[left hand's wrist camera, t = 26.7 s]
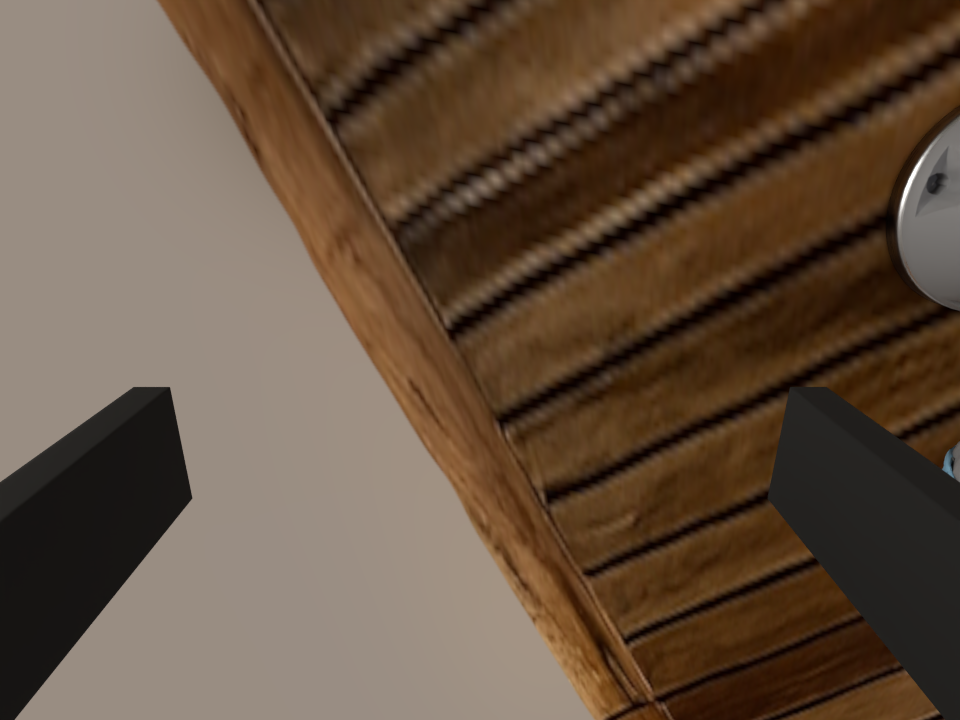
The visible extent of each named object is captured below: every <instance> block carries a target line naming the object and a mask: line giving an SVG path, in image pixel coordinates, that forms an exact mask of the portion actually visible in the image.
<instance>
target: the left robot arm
mask: <svg viewBox="0 0 960 720" xmlns="http://www.w3.org/2000/svg"><path fill="white" fill-rule="evenodd" d="M886 237H887V245H888V250H889V254H890V257H891V260H892V262H893V264H894V266H895V269H896V270H897V272H898V274H899V275H900V277H901V278H902V279H903V280H904V282H905V283H906V284H907V285H908V286H909V287H910V288H911V289H912V290H913V291H915V292H916V293H918V294H919V295H920V296H922V297H924V298H926V299H928V300H930V301H932V302H935V303H937V304H940V305H943V306H946V307H949V308H951V309H955V310H958V311H960V106H959V107H957V108H956V109H954V110H953V111H952V112H950V113H949V114H948V115H946V116H945V117H944V118H943V119H942V120H941V121H939V122H938V123H937V124H936V125H935V126H934V127H933V128H932V129H931V130H930V131H929V132H928V133H927V134H926V135H925V136H924V138H923V139H922V140H921V141H920V142H919V144H918V145H917V146H916V147H915V149H914V150H913V152H912V153H911V155H910V156H909V158H908V159H907V161H906V163H905V164H904V166H903V168H902V170H901V172H900V174H899V176H898V178H897V180H896V183H895V185H894V188H893V191H892V194H891V197H890V201H889V206H888V211H887V219H886ZM191 499H192V495H191V489H190V484H189V479H188V474H187V470H186V465H185V460H184V455H183V450H182V445H181V440H180V435H179V430H178V425H177V420H176V415H175V410H174V405H173V400H172V395H171V390H170V387H133V388H132V389H130V390H129V391H128V392H126V393H125V394H123V395H122V396H121V397H119V398H118V399H116V400H115V401H114V402H112V403H111V404H109V405H108V406H107V407H105V408H104V409H102V410H101V411H100V412H98V413H97V414H95V415H94V416H92V417H91V418H90V419H88V420H87V421H86V422H84V423H83V424H81V425H80V426H78V427H77V428H76V429H74V430H73V431H71V432H70V433H69V434H67V435H66V436H64V437H63V438H62V439H60V440H59V441H57V442H56V443H55V444H53V445H52V446H50V447H49V448H48V449H46V450H45V451H43V452H42V453H41V454H39V455H38V456H36V457H35V458H34V459H32V460H31V461H29V462H28V463H27V464H25V465H24V466H22V467H21V468H20V469H18V470H17V471H15V472H14V473H13V474H11V475H10V476H8V477H7V478H6V479H4V480H3V481H1V482H0V720H15V718H16V717H17V716H18V715H19V713H20V712H21V711H22V710H23V708H24V707H25V706H26V705H27V703H28V702H29V701H30V700H31V698H32V697H33V696H34V695H35V694H36V692H37V691H38V690H39V688H40V687H41V686H42V685H43V684H44V682H45V681H46V680H47V679H48V677H49V676H50V675H51V674H52V672H53V671H54V670H55V669H56V667H57V666H58V665H59V664H60V662H61V661H62V660H63V659H64V657H65V656H66V655H67V654H68V652H69V651H70V650H71V649H72V647H73V646H74V645H75V644H76V642H77V641H78V640H79V639H80V637H81V636H82V635H83V634H84V633H85V631H86V630H87V629H88V628H89V626H90V625H91V624H92V622H93V621H94V620H95V619H96V618H97V616H98V615H99V614H100V613H101V611H102V610H103V609H104V608H105V606H106V605H107V604H108V603H109V601H110V600H111V599H112V598H113V596H114V595H115V594H116V593H117V591H118V590H119V589H120V588H121V586H122V585H123V584H124V583H125V582H126V580H127V579H128V578H129V577H130V575H131V574H132V573H133V572H134V570H135V569H136V568H137V567H138V565H139V564H140V563H141V562H142V560H143V559H144V558H145V557H146V555H147V554H148V553H149V552H150V550H151V549H152V548H153V547H154V545H155V544H156V543H157V542H158V540H159V539H160V538H161V537H162V535H163V534H164V533H165V532H166V530H167V529H168V528H169V527H170V525H171V524H172V523H173V522H174V521H175V519H176V518H177V517H178V515H179V514H180V513H181V512H182V511H183V509H184V508H185V507H186V506H187V504H188V503H189V502H190V501H191ZM768 499H769V501H770V502H771V503H772V504H773V506H774V507H775V508H776V509H777V511H778V512H779V513H780V514H781V516H782V517H783V518H784V519H785V521H786V522H787V523H788V524H789V526H790V527H791V528H792V529H793V530H794V532H795V533H796V534H797V535H798V537H799V538H800V539H801V540H802V542H803V543H804V544H805V545H806V547H807V548H808V549H809V550H810V552H811V553H812V554H813V555H814V557H815V558H816V559H817V560H818V562H819V563H820V564H821V565H822V567H823V568H824V569H825V570H826V572H827V573H828V574H829V575H830V577H831V578H832V579H833V580H834V582H835V583H836V584H837V585H838V586H839V588H840V589H841V590H842V591H843V593H844V594H845V595H846V596H847V598H848V599H849V600H850V601H851V603H852V604H853V605H854V606H855V608H856V609H857V610H858V611H859V613H860V614H861V615H862V616H863V618H864V619H865V620H866V621H867V623H868V624H869V625H870V626H871V628H872V629H873V630H874V631H875V633H876V634H877V635H878V636H879V638H880V639H881V640H882V641H883V643H884V644H885V645H886V646H887V647H888V649H889V650H890V651H891V652H892V654H893V655H894V656H895V657H896V659H897V660H898V661H899V662H900V664H901V665H902V666H903V667H904V669H905V670H906V671H907V672H908V674H909V675H910V676H911V677H912V679H913V680H914V681H915V682H916V684H917V685H918V686H919V687H920V689H921V690H922V691H923V692H924V694H925V695H926V696H927V697H928V699H929V700H930V701H931V702H932V703H933V705H934V706H935V707H936V708H937V710H938V711H939V712H940V713H941V715H942V716H943V717H944V718H945V720H960V441H959V443H958V444H957V445H956V446H954V447H953V448H951V449H950V450H949V451H948V452H947V454H946V456H945V460H944V467H943V469H940V468H939V467H938V466H936V465H935V464H933V463H932V462H931V461H929V460H928V459H926V458H925V457H924V456H922V455H921V454H919V453H918V452H917V451H915V450H914V449H912V448H911V447H910V446H908V445H907V444H905V443H904V442H903V441H901V440H900V439H898V438H897V437H896V436H894V435H893V434H891V433H890V432H889V431H887V430H886V429H884V428H883V427H882V426H880V425H879V424H877V423H876V422H875V421H873V420H872V419H870V418H869V417H868V416H866V415H865V414H863V413H862V412H860V411H859V410H858V409H856V408H855V407H853V406H852V405H851V404H849V403H848V402H846V401H845V400H844V399H842V398H841V397H839V396H838V395H837V394H835V393H834V392H832V391H831V390H830V389H828V388H827V387H790V390H789V395H788V400H787V405H786V410H785V415H784V420H783V425H782V430H781V435H780V440H779V445H778V450H777V455H776V460H775V465H774V469H773V474H772V479H771V484H770V489H769V494H768Z"/></svg>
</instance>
